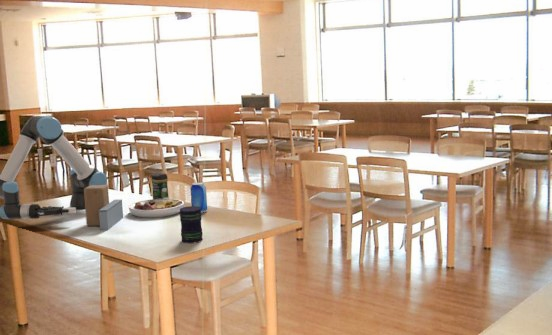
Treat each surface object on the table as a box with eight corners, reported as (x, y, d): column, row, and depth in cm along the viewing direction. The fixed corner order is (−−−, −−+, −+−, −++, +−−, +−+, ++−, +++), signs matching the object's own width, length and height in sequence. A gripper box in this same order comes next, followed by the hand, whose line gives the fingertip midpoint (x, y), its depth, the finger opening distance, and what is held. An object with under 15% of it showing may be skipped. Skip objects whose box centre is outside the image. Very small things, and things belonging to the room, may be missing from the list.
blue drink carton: (189, 213, 360) (187, 184, 357) (196, 209, 367) (195, 181, 365) (202, 214, 357) (201, 185, 354) (210, 210, 364) (208, 182, 362)
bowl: (142, 206, 382) (141, 193, 381) (191, 207, 376) (190, 193, 375) (120, 219, 354) (119, 204, 352) (172, 219, 347) (171, 205, 346)
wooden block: (105, 226, 337) (102, 187, 334) (86, 226, 338) (82, 188, 334) (111, 221, 347) (108, 184, 344) (92, 222, 347) (89, 184, 344)
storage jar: (202, 242, 299) (200, 210, 296) (180, 243, 298) (178, 211, 296) (203, 236, 309) (201, 205, 306) (182, 238, 308) (180, 206, 306)
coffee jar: (150, 204, 388) (148, 173, 385) (162, 201, 394) (160, 171, 391) (160, 206, 381) (158, 174, 379) (171, 203, 387) (169, 172, 384)
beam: (115, 218, 355) (114, 199, 353) (123, 217, 354) (121, 199, 353) (100, 230, 329) (98, 210, 328) (108, 229, 329) (106, 210, 327)
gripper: (36, 215, 350) (80, 214, 349) (26, 221, 337) (71, 220, 336) (35, 201, 349) (79, 200, 348) (25, 207, 336) (70, 206, 335)
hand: (75, 210), depth 342 cm, fingers closed
